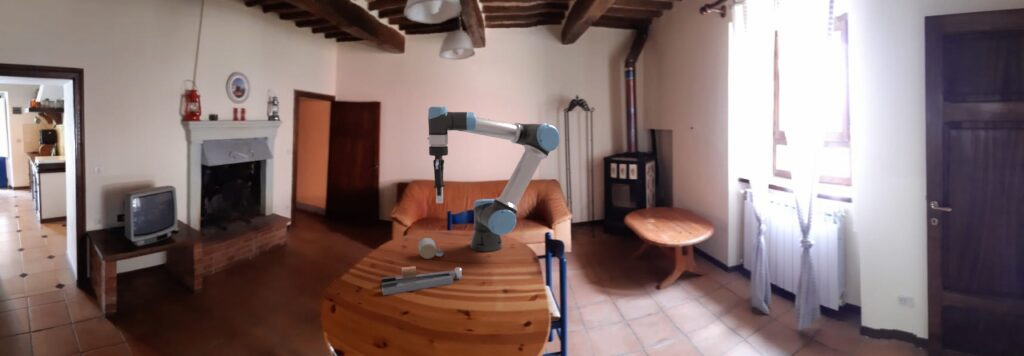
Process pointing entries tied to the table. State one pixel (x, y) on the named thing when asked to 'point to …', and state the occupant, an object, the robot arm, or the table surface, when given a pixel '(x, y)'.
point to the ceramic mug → (428, 249)
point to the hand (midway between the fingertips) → (439, 202)
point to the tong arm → (420, 275)
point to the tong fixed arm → (414, 285)
